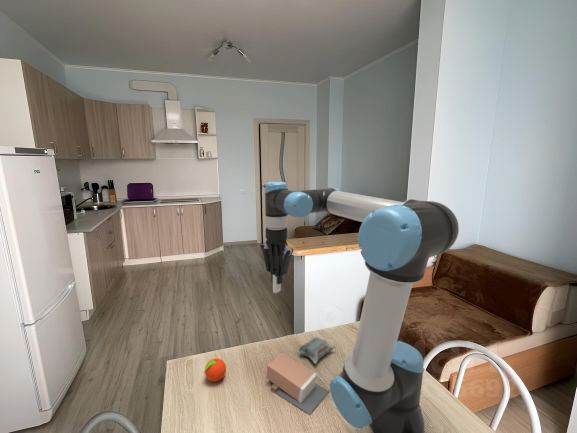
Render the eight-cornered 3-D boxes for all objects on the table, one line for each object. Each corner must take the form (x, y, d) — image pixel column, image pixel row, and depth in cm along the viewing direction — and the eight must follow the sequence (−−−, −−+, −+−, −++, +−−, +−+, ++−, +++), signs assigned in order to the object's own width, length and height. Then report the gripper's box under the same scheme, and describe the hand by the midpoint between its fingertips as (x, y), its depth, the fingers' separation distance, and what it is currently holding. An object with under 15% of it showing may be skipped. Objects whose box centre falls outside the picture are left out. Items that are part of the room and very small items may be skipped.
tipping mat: (329, 391, 94) (329, 387, 93) (309, 415, 85) (309, 410, 85) (291, 371, 103) (291, 367, 102) (270, 390, 94) (270, 386, 94)
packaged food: (335, 353, 112) (335, 341, 111) (314, 368, 104) (315, 356, 103) (317, 343, 118) (317, 332, 117) (297, 357, 110) (297, 345, 109)
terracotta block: (281, 364, 103) (315, 386, 95) (266, 377, 97) (301, 403, 89) (282, 352, 101) (317, 374, 94) (267, 365, 95) (303, 390, 87)
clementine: (210, 391, 94) (209, 372, 92) (198, 381, 98) (197, 362, 97) (230, 377, 100) (229, 359, 98) (218, 368, 104) (217, 350, 103)
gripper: (298, 227, 100) (297, 292, 105) (268, 222, 107) (269, 283, 112) (285, 232, 94) (285, 300, 99) (254, 226, 101) (256, 290, 106)
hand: (276, 291), depth 105 cm, fingers closed
